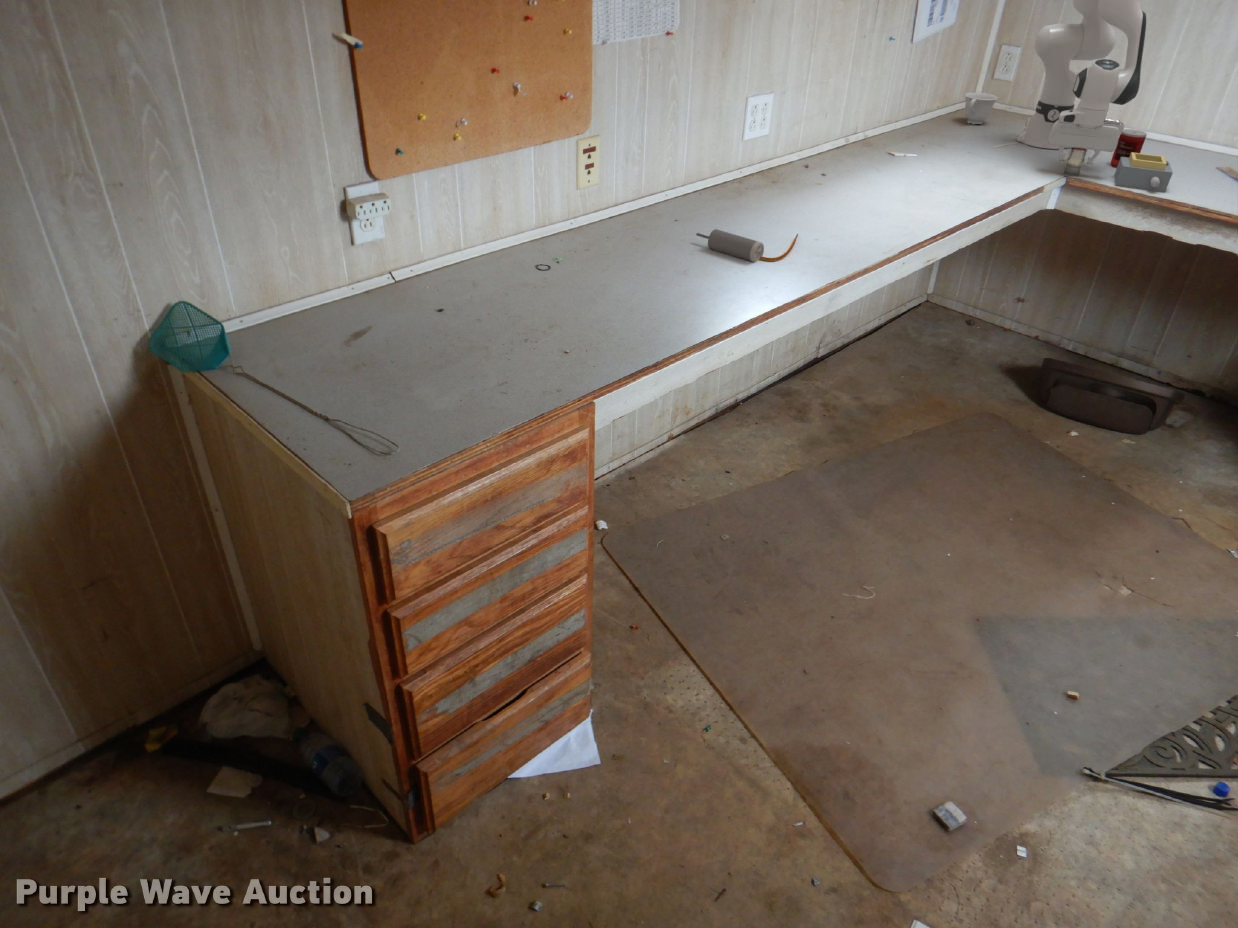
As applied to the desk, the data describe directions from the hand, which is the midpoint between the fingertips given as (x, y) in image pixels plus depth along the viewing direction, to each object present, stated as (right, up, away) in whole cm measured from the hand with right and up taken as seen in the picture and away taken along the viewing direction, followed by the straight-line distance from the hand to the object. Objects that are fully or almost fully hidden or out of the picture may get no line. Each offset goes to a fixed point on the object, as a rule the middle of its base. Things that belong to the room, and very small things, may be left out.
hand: (1075, 162), depth 277 cm
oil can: (0, -3, +2) cm, 4 cm away
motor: (-114, -42, -57) cm, 134 cm away
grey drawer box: (+17, -9, -6) cm, 20 cm away
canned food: (+22, +3, +12) cm, 25 cm away
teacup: (-10, +34, +55) cm, 65 cm away
